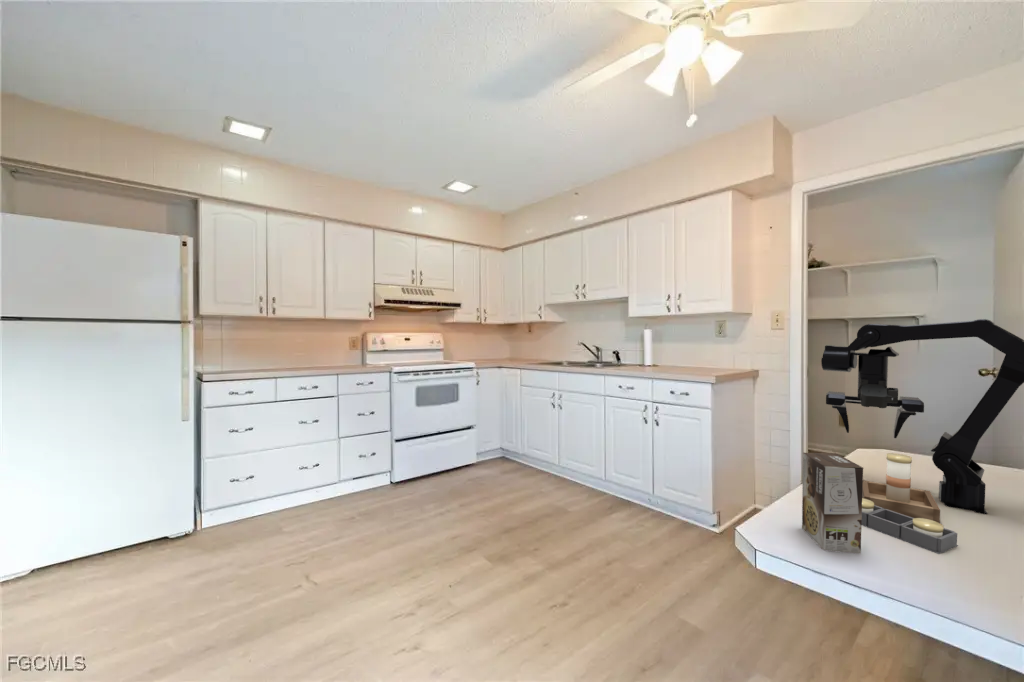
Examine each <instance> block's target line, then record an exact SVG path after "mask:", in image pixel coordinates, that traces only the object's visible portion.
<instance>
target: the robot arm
mask: <svg viewBox="0 0 1024 682" xmlns="http://www.w3.org/2000/svg"><path fill="white" fill-rule="evenodd" d="M961 338H962V339H963V338H979V340H982V341H984V342H985V343H987V344H988V345H990V346H992V347H993V348H995V349H996V350H998V351H999V352H1001V353H1003V354H1004V357H1003V361H1002V363H1001V365H1000V367H999V371H998V372H997V376H996V378H995V379H994V381H992V383H991V385H990V386H989V387H988V389H987V390H986V392H985V393H984V394H983V396H982V398H981V399H980V400H979V401H978V403H977V404H976V406H975V407H974V408H973V410H972V411H971V412H970V414H969V415H968V417H967V418H966V420H965V421H964V422H963V424H962V425H961V426H960V428H959V429H958V430H957V431H956V432H954V433H953V434H952V435H951V434H950V433H948V432H947V431H945V432H943V433H942V435H941V436H940V438H939V441H938V443H935V445H934V446H933V447H932V449H931V450H930V451H931V452H934V453H933V454H932V457H931V460H932V462H933V465H934V466H935V467H936V468H937V469H938V470H940V472H942V473H943V474H942V480H939V481H938V483H939V484H938V499H939V501H940V502H941V503H943V504H944V506H945V507H948V508H952V509H953V508H955V509H959V510H965V511H971V512H974V513H976V514H983V515H987V514H988V511H987V509H986V507H985V505H986V483H985V482H984V480H982V479H983V475H984V473H985V469H984V468H983V467H982V466H981V465H980V464H979V463H977V462H976V461H975V460H974V459H973V456H974V454H975V451H976V450H977V446H978V445H979V442H980V440H981V438H982V437H983V436H984V434H985V433H986V432H987V430H988V429H989V428H990V426H991V425H992V423H994V421H995V420H996V418H997V417H998V416H999V415H1000V413H1001V412H1002V411H1003V409H1004V408H1005V406H1006V405H1007V403H1008V402H1009V401H1010V400H1011V398H1012V397H1013V396H1014V394H1015V393H1016V392H1017V390H1018V389H1019V387H1021V386H1022V385H1023V384H1024V339H1023V338H1021V337H1020V336H1017V335H1015V334H1014V333H1012V332H1010V331H1008V330H1007V329H1004V328H1003V327H1001V326H1000V325H999V326H998V325H997V324H996V323H995V322H994V321H993V320H990V319H986V318H983V319H982V318H979V319H974V320H967V321H953V322H951V321H950V322H940V323H928V324H925V323H924V324H915V325H914V324H913V325H907V324H906V325H905V324H891V323H889V324H888V323H868V324H864V325H862V326H861V327H860V328H859V329H858V330H857V332H856V338H855V339H854V340H853V341H852V342H851V343H850V344H849V345H848V346H842V345H838V346H837V345H832V344H829V345H828V344H827V345H825V346H824V350H823V352H822V353H823V354H822V357H821V358H820V359H821V361H820V362H821V368H822V370H823V371H830V372H843V373H850V372H852V369H856V368H857V395H856V396H855V395H854V396H853V395H846V392H843V391H827V392H826V394H825V404H826V405H828V406H831V408H832V409H836V410H837V412H838V413H839V415H840V417H841V420H842V422H843V425H844V428H845V431H846V433H847V434H849V433H850V425H849V419H848V412H847V411H848V410H847V405H846V404H857V405H858V404H859V405H861V406H862V407H864V408H869V407H872V408H879V409H886V408H887V407H891V408H894V407H895V408H896V415H895V419H894V421H895V422H894V426H893V427H894V428H893V439H897V438H898V436H899V434H900V431H901V430H902V427H903V425H904V424H905V423H906V421H907V419H908V418H909V417H911V416H917V413H925V403H924V402H923V400H921V399H920V398H919V397H914V396H901V395H900V396H899V389H898V387H888V376H889V374H888V371H889V357H890V358H895V357H899V356H900V353H899V352H897V351H895V350H894V349H893V347H892V346H887V345H892V344H896V343H902V342H908V341H909V342H910V341H925V340H926V341H927V340H943V339H944V340H945V339H961ZM882 346H887V347H886V348H884V349H881V348H877V347H882ZM868 348H870V349H869V350H868V352H857V351H863V350H867V349H868ZM857 366H858V367H857Z"/></svg>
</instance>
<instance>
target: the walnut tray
mask: <svg viewBox="0 0 1024 682" xmlns="http://www.w3.org/2000/svg"><path fill="white" fill-rule="evenodd" d="M885 497H886V483H883V482H876V481H869V480H864V479H863V490H862V498H864V499H868V500H870V501H872V502H874V505H875V506H879V507H882V508H884V509H888V510H891V511H894V512H897V513H900V514H903V515H906V516H909V517H912V518H924V519H929V520H933V521H936V522H938V523H940V522H941V509H940V507H939V505H938V504H937V502H936V500H935V498H934V496H933V495H932V493H931V491H930V490H926V489H919V488H913V487H911V488H910V503H906V502H901V501H895V500H889V499H885ZM940 524H941V523H940Z"/></svg>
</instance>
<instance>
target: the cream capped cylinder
mask: <svg viewBox="0 0 1024 682" xmlns="http://www.w3.org/2000/svg"><path fill="white" fill-rule="evenodd" d="M885 458H886V474H885V475H886V476H885V484H886V497H885V499H889V500H895V501H901V502H906V503H910V488H912V487H911V486H912V476H911V475H912V463H913V458H912V456H910V455H907V454H902V453H893V452H890V453H889V452H888V453H886V457H885Z"/></svg>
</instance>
